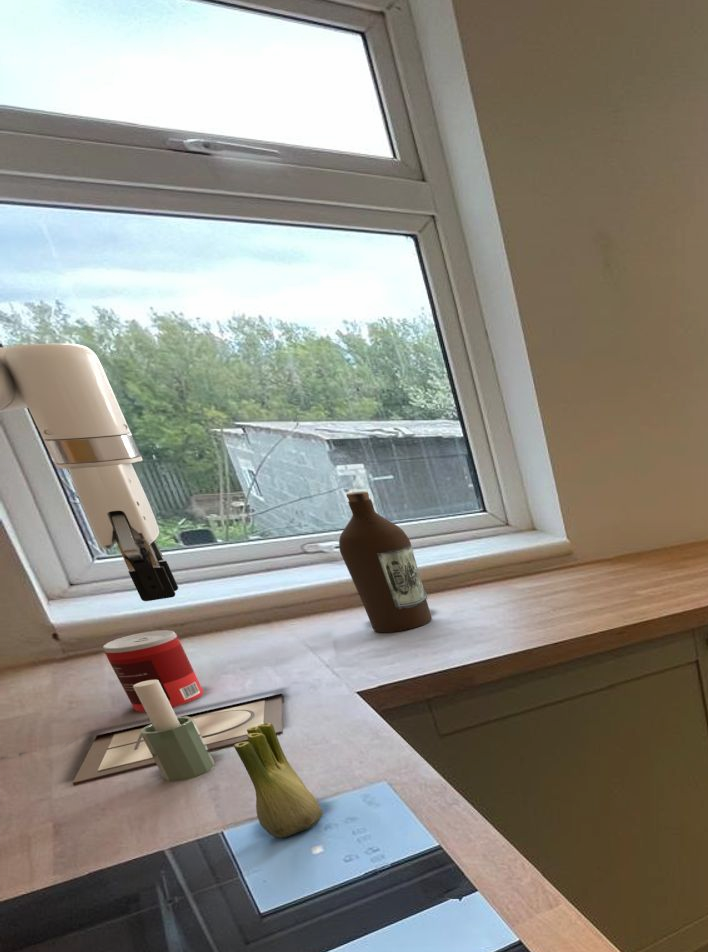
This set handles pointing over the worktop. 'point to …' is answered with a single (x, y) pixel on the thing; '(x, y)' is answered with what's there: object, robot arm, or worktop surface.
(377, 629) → the brown stoneware bottle
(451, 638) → the worktop surface
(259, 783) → the fennel bulb
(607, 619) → the worktop surface
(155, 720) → the cylinder
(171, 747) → the pen cup
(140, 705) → the canned food
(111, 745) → the framed abstract picture
